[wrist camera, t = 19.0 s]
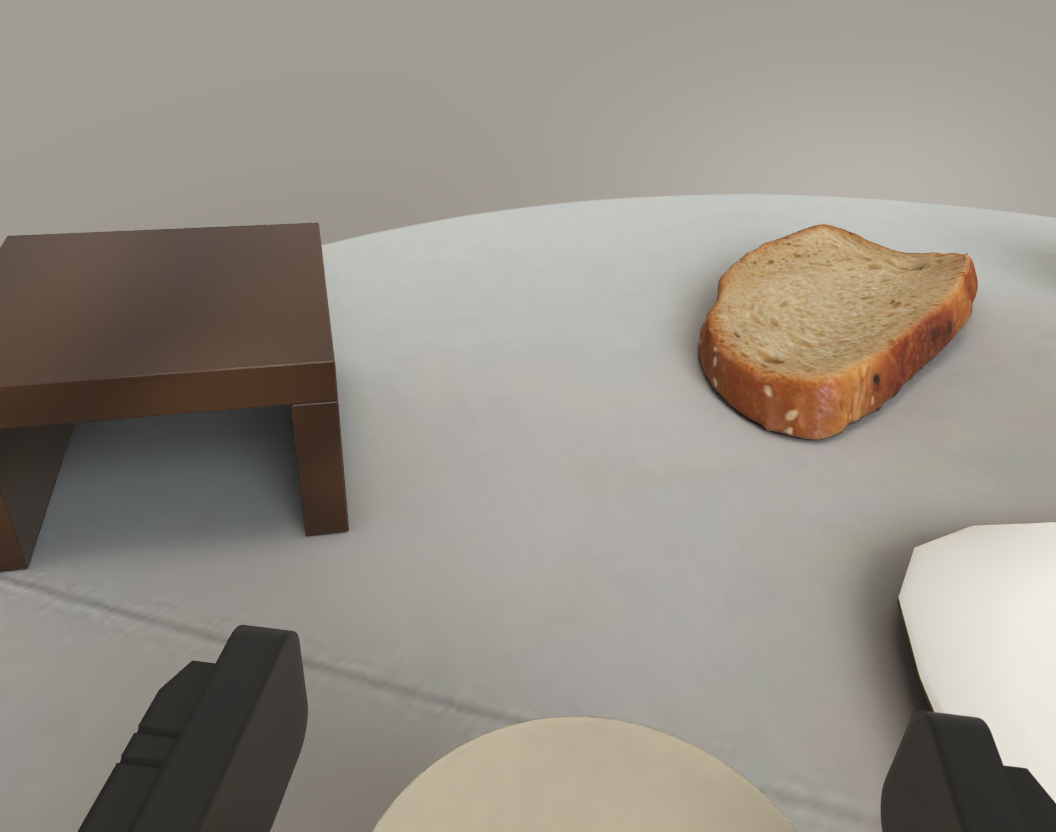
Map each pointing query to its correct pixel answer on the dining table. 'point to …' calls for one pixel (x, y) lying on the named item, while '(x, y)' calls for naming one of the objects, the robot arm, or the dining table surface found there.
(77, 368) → the shelf
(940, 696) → the plate
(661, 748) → the cup
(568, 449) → the dining table surface
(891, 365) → the bread slice
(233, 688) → the robot arm
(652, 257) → the dining table surface
